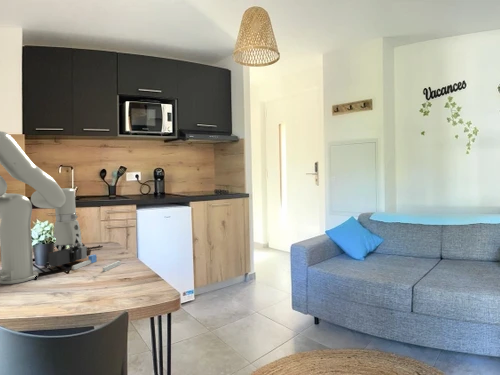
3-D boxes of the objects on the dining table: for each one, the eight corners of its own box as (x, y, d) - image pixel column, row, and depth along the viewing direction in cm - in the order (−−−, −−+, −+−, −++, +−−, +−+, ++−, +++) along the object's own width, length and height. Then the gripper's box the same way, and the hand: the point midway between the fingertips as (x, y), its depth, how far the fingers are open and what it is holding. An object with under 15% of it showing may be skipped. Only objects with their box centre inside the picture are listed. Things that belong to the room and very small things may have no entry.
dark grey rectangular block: (57, 266, 136) (57, 253, 136) (47, 265, 138) (47, 253, 138) (86, 257, 152) (86, 246, 152) (77, 257, 153) (76, 246, 153)
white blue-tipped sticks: (104, 271, 135) (104, 264, 135) (43, 267, 142) (43, 260, 142) (124, 262, 147) (123, 255, 147) (66, 259, 154) (66, 253, 154)
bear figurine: (65, 252, 156) (61, 244, 168) (65, 261, 157) (61, 252, 169) (107, 246, 166) (100, 239, 178) (107, 255, 167) (100, 247, 179)
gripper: (89, 216, 145) (91, 259, 147) (56, 216, 150) (59, 258, 151) (76, 219, 138) (78, 264, 139) (42, 219, 142) (45, 262, 144)
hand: (68, 260), depth 145 cm, fingers closed on dark grey rectangular block, 4 cm apart
